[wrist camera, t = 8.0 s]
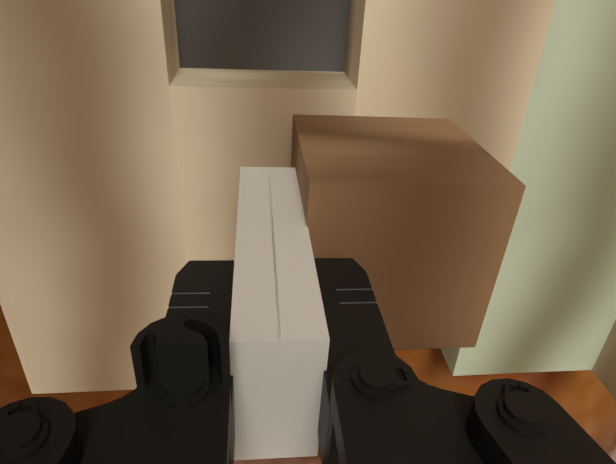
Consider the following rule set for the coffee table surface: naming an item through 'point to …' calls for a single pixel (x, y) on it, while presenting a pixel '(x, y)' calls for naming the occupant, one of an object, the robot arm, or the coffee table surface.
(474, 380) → the coffee table surface
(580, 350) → the board
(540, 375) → the coffee table surface
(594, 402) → the coffee table surface
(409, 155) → the walnut cube
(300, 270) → the robot arm
